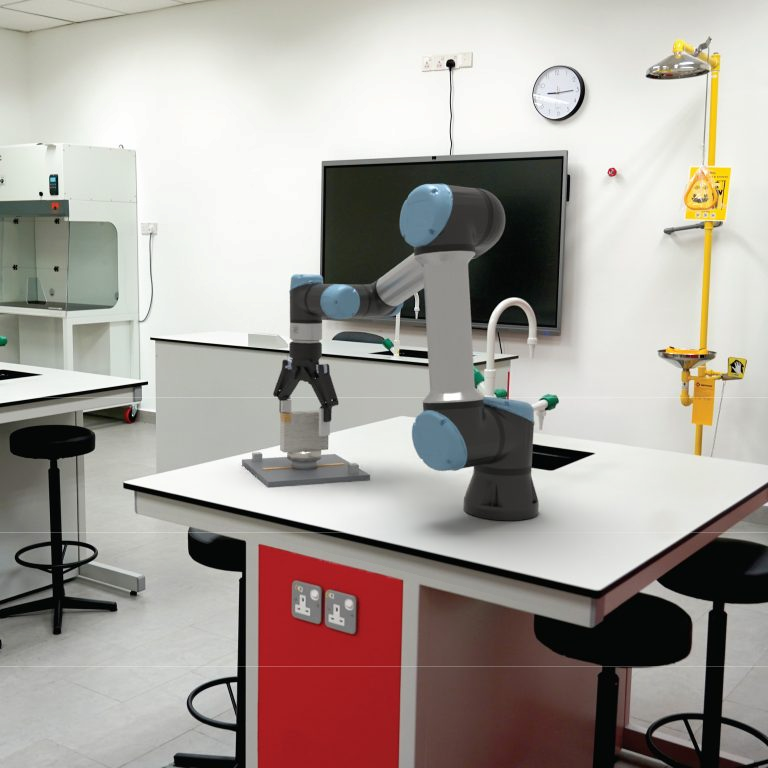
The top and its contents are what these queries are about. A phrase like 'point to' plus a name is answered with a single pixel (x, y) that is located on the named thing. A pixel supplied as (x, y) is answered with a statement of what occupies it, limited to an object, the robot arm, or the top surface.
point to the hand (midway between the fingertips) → (304, 431)
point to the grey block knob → (301, 436)
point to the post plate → (303, 470)
